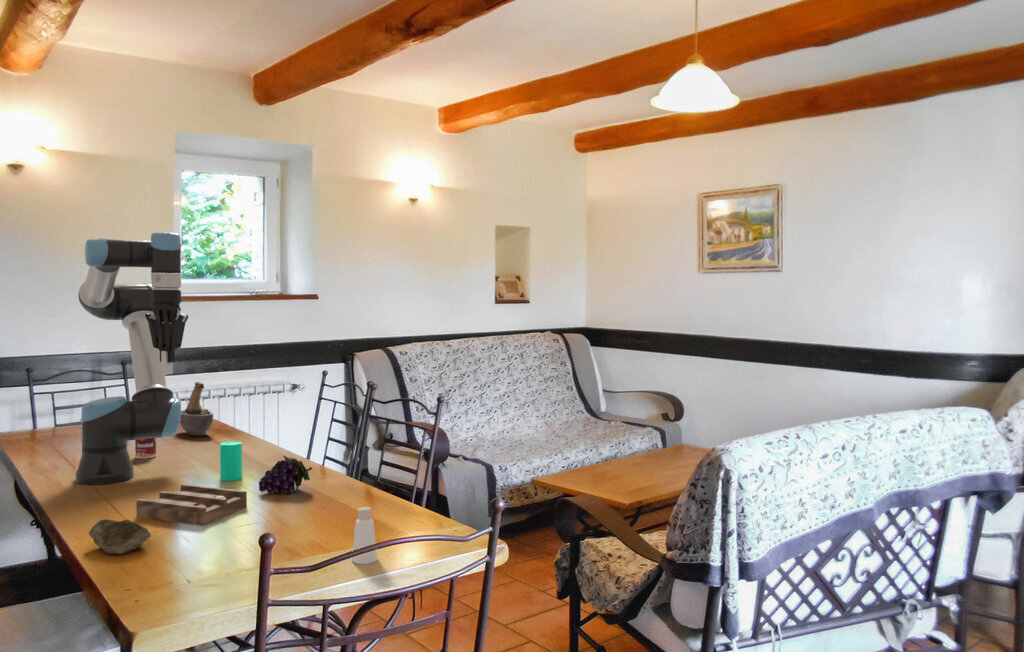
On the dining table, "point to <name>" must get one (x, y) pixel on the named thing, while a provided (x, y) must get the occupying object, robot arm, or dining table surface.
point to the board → (192, 504)
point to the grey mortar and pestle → (196, 414)
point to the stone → (118, 535)
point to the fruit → (284, 476)
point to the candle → (230, 461)
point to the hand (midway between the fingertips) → (167, 374)
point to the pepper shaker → (364, 536)
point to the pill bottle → (145, 448)
